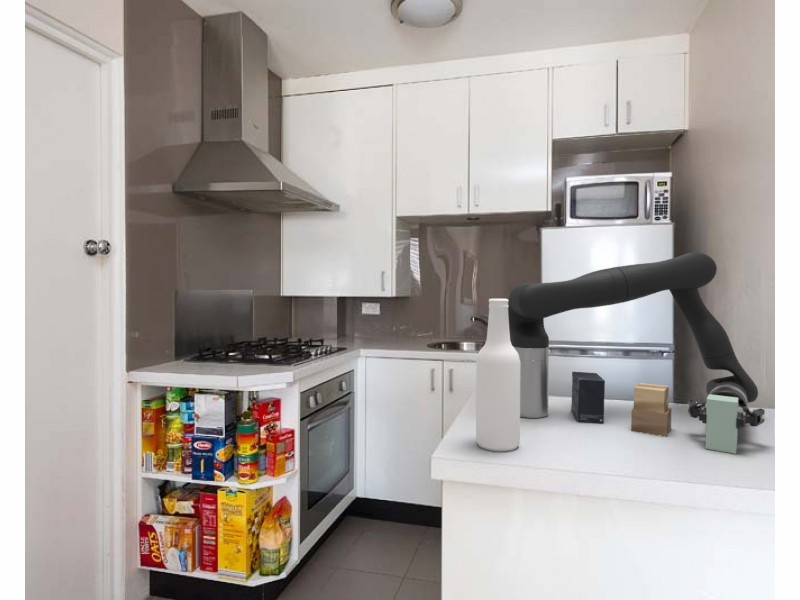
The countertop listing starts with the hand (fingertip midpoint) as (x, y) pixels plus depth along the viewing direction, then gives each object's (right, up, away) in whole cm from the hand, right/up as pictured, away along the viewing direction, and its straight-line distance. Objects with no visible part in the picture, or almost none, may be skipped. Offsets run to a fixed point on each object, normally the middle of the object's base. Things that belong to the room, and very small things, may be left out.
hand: (721, 420), depth 95 cm
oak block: (-6, -1, +14) cm, 16 cm away
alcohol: (-43, -6, +4) cm, 44 cm away
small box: (-17, -6, +25) cm, 31 cm away
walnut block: (-6, -6, +14) cm, 17 cm away
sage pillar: (+2, -6, +2) cm, 7 cm away
